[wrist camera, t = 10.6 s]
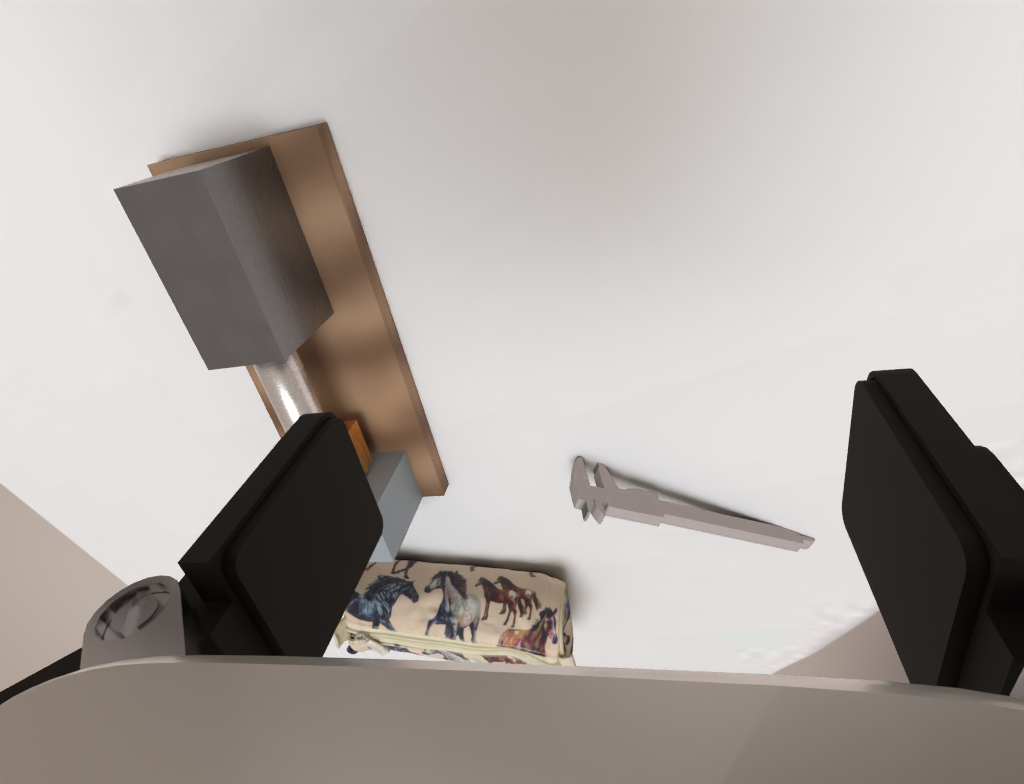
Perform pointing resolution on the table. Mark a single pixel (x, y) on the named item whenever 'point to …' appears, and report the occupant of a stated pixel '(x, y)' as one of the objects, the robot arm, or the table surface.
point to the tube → (301, 399)
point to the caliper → (669, 511)
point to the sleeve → (231, 257)
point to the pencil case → (459, 614)
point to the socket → (393, 500)
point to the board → (344, 307)
